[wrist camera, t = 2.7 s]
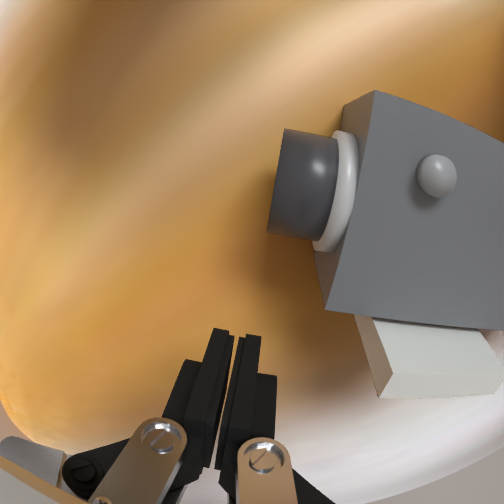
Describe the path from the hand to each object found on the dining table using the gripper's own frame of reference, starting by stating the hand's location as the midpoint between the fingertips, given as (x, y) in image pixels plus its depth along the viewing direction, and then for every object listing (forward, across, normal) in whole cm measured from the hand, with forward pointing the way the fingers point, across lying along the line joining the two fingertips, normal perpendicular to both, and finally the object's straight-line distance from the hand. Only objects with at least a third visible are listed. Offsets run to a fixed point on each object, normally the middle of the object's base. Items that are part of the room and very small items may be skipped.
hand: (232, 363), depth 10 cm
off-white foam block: (+8, -9, 0) cm, 12 cm away
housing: (+9, -11, -5) cm, 15 cm away
